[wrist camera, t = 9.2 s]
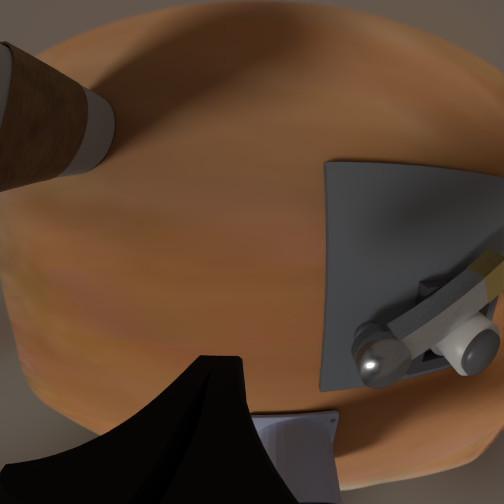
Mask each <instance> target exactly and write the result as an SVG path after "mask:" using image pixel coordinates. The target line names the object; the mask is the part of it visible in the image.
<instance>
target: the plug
mask: <svg viewBox="0 0 504 504" xmlns="http://www.w3.org/2000/svg"><path fill="white" fill-rule="evenodd" d="M499 344H500V337H499V330H498V327H497V325H496V324H494V323H493V322H492V321H491V320H489V319H488V318H487V317H485V316H484V315H483V314H482V313H480V312H479V311H478V312H477V313H476V314H475V315H473V316H472V317H471V318H470V319H468V320H467V321H466V322H465V323H463V324H462V325H461V326H460V327H458V328H457V329H456V330H454V331H453V332H452V333H450V334H449V335H448V336H446V337H445V338H444V339H442V340H441V341H439V342H438V343H437V344H435V345H434V346H432V347H431V348H430V349H431V350H432V351H433V352H434V353H435V354H437V355H441V356H444V357H445V358H446V359H447V360H448V361H449V363H450V364H451V365H452V366H453V367H454V369H455V370H456V371H457V372H458V373H459V374H460V375H462V376H467V375H469V376H474V375H477V374H479V373H480V372H482V371H483V370H484V369H485V368H486V367H487V366H488V365H489V364H490V363H491V361H492V360H493V359H494V357H495V355H496V353H497V351H498V348H499Z"/></svg>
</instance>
